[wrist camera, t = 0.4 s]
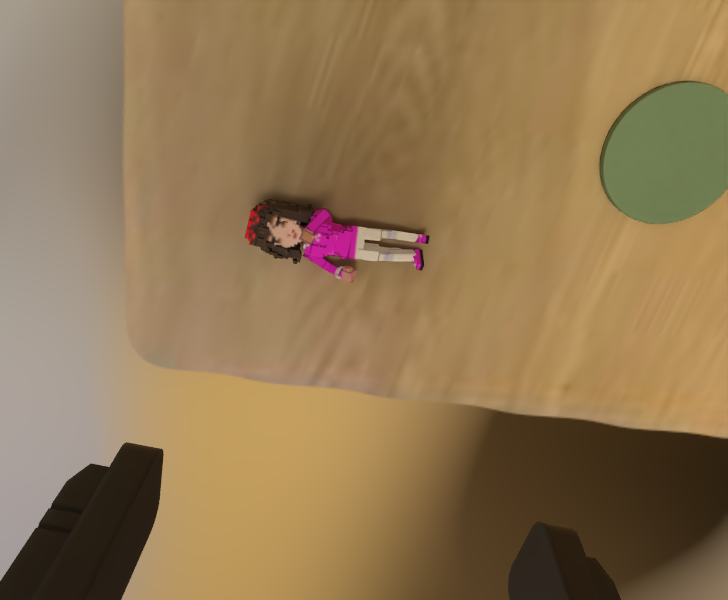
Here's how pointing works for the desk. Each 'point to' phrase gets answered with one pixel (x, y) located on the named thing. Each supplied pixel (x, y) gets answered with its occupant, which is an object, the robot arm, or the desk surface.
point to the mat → (668, 153)
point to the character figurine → (323, 238)
